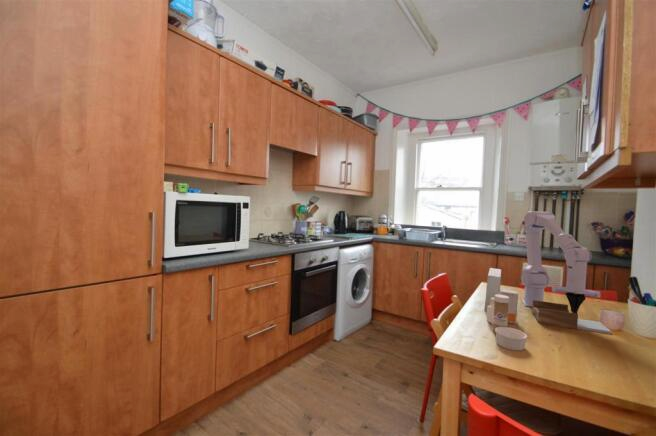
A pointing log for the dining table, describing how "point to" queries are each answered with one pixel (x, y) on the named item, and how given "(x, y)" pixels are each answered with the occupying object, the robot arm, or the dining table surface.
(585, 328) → the lid
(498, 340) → the ramekin
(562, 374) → the dining table surface
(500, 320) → the sprinkles bottle
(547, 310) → the case
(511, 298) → the skincare box
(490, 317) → the salt shaker
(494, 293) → the skincare box
